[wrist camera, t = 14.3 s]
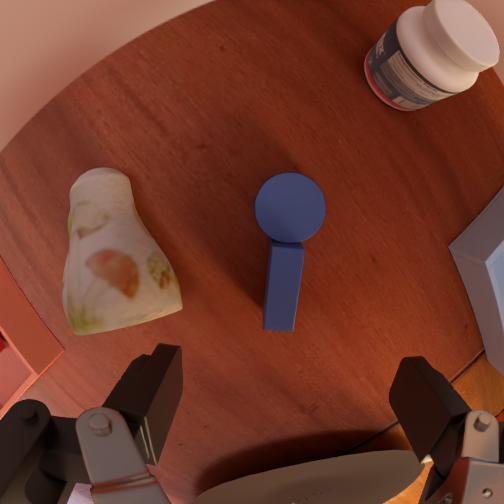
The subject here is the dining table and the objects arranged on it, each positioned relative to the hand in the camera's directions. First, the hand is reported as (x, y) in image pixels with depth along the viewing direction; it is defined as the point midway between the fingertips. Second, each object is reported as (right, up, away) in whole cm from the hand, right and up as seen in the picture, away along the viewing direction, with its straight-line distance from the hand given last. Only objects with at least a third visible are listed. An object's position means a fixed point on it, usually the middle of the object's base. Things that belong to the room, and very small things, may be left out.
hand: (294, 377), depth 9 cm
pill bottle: (+8, +16, +6) cm, 19 cm away
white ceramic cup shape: (-10, +5, +9) cm, 14 cm away
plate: (+6, -25, +16) cm, 30 cm away
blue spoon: (+1, +5, +9) cm, 10 cm away
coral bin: (-31, -6, +12) cm, 34 cm away
